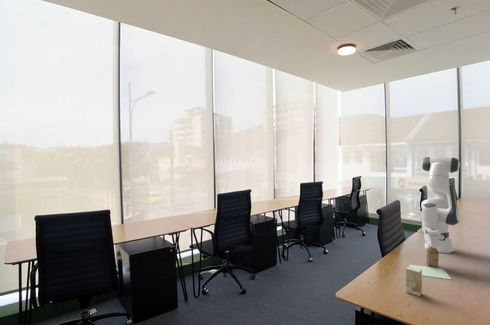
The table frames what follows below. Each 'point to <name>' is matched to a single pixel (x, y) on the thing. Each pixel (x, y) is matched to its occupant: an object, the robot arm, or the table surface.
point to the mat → (432, 272)
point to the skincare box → (414, 281)
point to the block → (432, 257)
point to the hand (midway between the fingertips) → (431, 250)
